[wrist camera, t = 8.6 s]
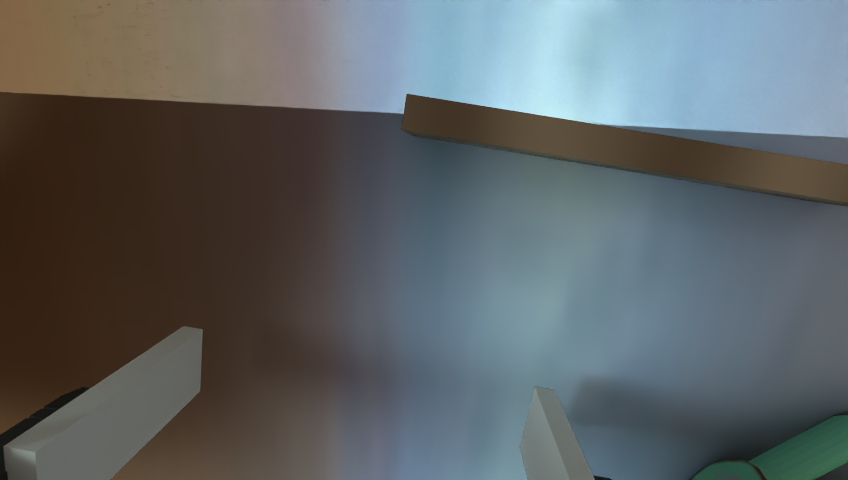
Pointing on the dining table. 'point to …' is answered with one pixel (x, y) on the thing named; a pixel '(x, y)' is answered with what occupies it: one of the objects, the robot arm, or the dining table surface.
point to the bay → (627, 150)
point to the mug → (790, 456)
